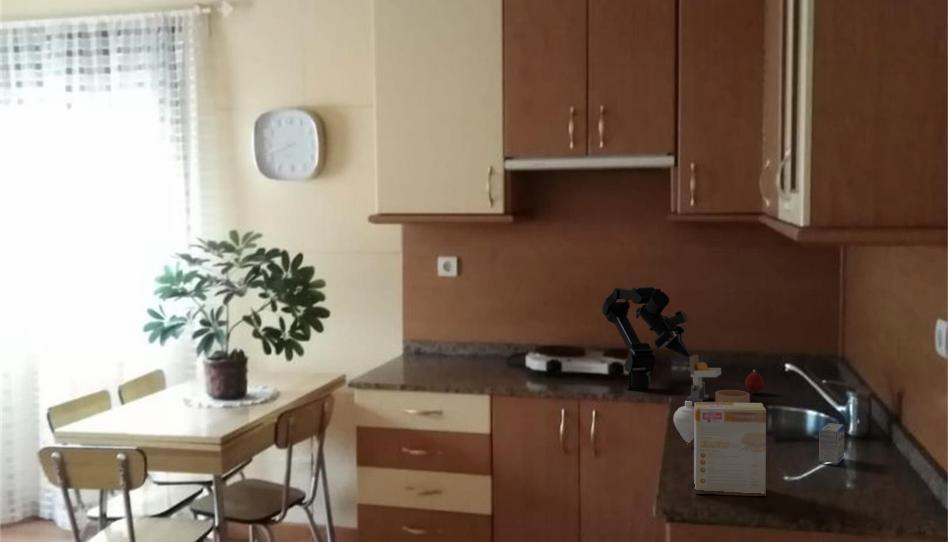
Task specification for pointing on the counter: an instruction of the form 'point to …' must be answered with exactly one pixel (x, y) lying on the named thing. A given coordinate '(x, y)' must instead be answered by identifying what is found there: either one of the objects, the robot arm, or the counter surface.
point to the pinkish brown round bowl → (732, 396)
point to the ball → (701, 366)
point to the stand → (698, 393)
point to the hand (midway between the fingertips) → (688, 355)
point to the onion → (754, 382)
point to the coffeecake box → (730, 447)
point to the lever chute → (699, 374)
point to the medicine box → (831, 443)
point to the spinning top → (685, 421)
